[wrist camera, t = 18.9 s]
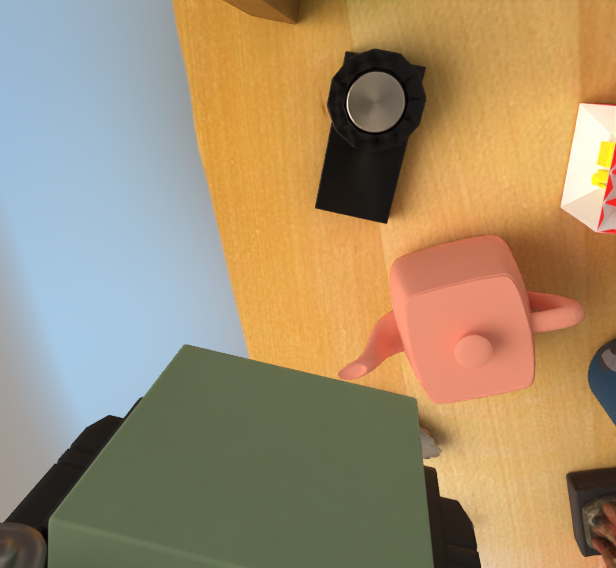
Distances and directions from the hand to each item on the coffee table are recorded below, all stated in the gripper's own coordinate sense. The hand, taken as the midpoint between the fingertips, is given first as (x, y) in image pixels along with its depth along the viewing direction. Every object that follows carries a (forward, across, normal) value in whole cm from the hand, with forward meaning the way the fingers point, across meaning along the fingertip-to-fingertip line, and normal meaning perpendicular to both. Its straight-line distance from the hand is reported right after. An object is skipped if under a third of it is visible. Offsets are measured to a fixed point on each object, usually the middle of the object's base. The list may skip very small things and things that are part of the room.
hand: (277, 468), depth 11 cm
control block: (+36, 0, -3) cm, 36 cm away
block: (0, 0, 0) cm, 0 cm away
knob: (+33, 0, -6) cm, 34 cm away
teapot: (+36, -10, +8) cm, 38 cm away
